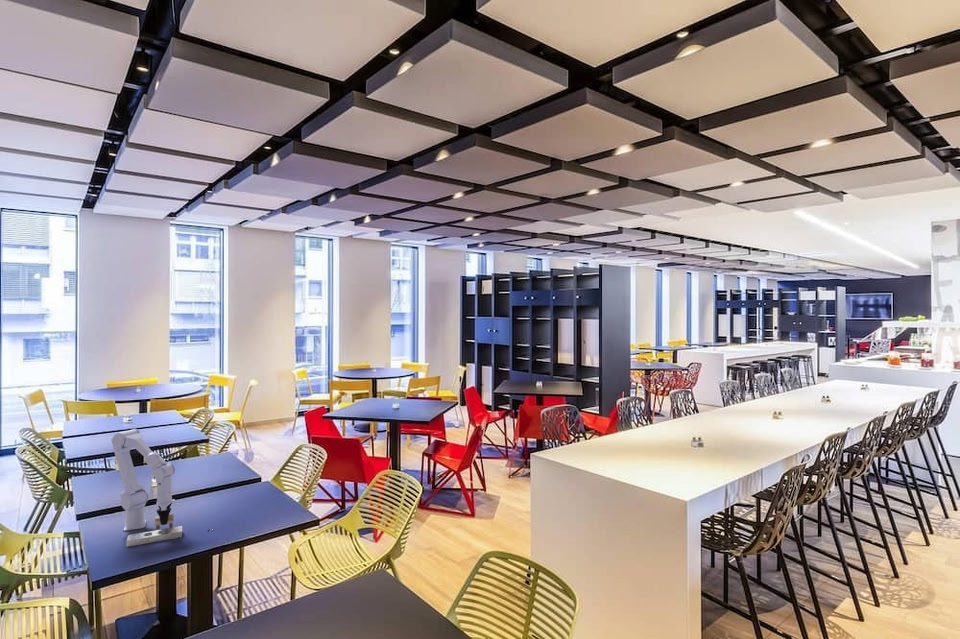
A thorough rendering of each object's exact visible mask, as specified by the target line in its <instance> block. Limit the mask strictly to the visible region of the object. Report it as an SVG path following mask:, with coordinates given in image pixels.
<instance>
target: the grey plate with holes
mask: <svg viewBox="0 0 960 639" xmlns="http://www.w3.org/2000/svg"><path fill="white" fill-rule="evenodd" d="M178 537H180V538H183V526H182V525H180V526H173V528H162V529H160V530H156V529H155V530H152V531H151V530H150V531H146V532H145V531H144V532H139V533H131V534H128V535H127V538H126V548H128V547H133V546H139V545H146V544H150V543H157V542H162V541H167V540H172V539H173V540H174V539H179V538H178Z"/></svg>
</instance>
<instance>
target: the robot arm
mask: <svg viewBox="0 0 960 639" xmlns="http://www.w3.org/2000/svg"><path fill="white" fill-rule="evenodd" d="M111 443H112V447H113V449H114V450H113V451H114V456H115V459H116V463H117V466H118V470H119V474H120V477H121V480H122V484H123V487H124V489H123V491H122V492H121V493H120V495H119V496H120V505H121V507H122V509H123V510H125V512H124V513H125V516H124V517H125V524H124V528H123V532H127V531H133V530H138V529H139V530H140V529H144V528H145V527H146V523H147V520H146V519H145V506H146V504H147V502H148V501H149V498H150V497H149V496H150V495H149V493H148V492H147V490H146V488H145V486H144V485H142V484H140V483H139V480H138V478H137V474H136V470H135V467H134V464H133V460H132V456H131V452H130V451H131V449H133V448H134V449H135V450H136V451H137V452H139V453H140V454H141V455H142V456H143V457H144V462H145V464H147V466H149V468H150V469H151V470H152V471H153V476H154V478H155V483H156V506H158V509H156V513H157V515H158V516H159V517H160V522H161V525H160V526H165V525H168V524H167V522H168V516H169V515H170V513H171V511H172V507H171V506H172V504H173V503H175V502H176V501H175V500H176V499H173V497H172V496H173V494H172V493H173V492H172V491H173V490H172V489H173V484H172V483H173V481H172V480H173V478H172V476H173V475H174V474H175V471H176V470H175V466H174V464H173V463H171V462H168V461H165V460H164V458H163V457H162V456H161V455H160V453H158V452H153V451H152V450H151V448H150V447H149V446H148V444H147V443H146V442H145V440H144V439H143V433H141V431H140V430H139V429H137V428H133V429H130V430H129V429H128V430H124V431H121V432H120V431H119V432H116V433H114V434H113V436H112V438H111Z"/></svg>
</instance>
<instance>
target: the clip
mask: <svg viewBox="0 0 960 639" xmlns="http://www.w3.org/2000/svg"><path fill="white" fill-rule="evenodd" d="M174 515H175V514H174V513H171V514H169V516H168V522H167V524H166V525H169V526H168V527H169V528H173V527H174V525H173V524H174V521H175V520H174V519H175V517H174ZM154 525H155V527H156V528H155V531H156V530H161V529H160V528H161V526H162V525H161V522H160V517H159V515H158V516H155V517H154Z"/></svg>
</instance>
